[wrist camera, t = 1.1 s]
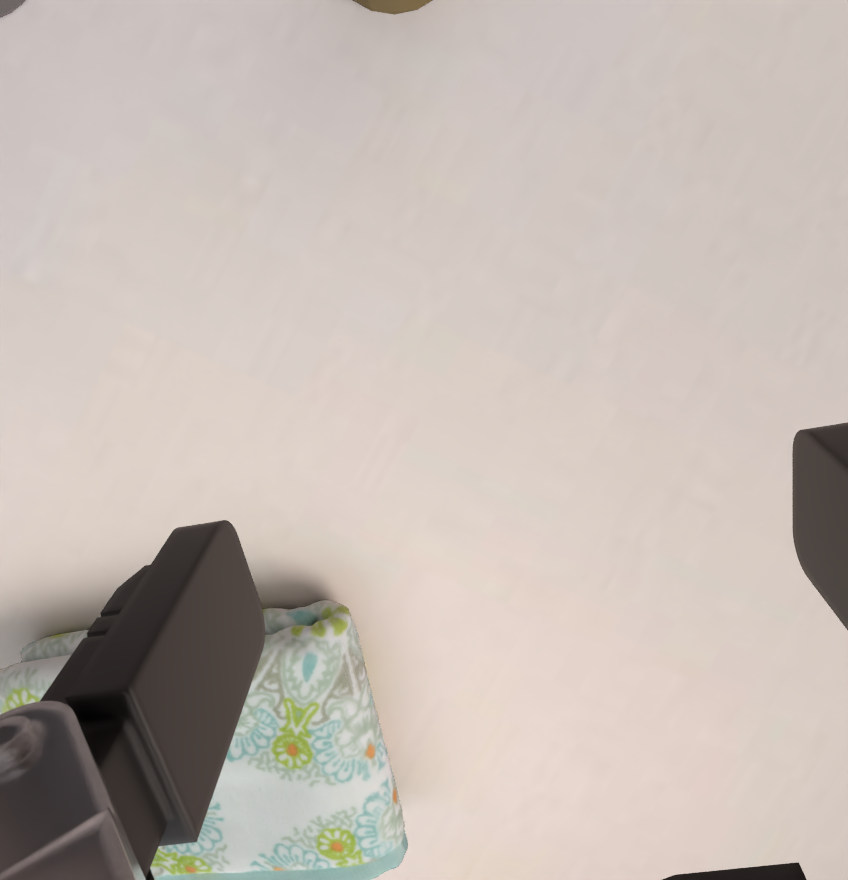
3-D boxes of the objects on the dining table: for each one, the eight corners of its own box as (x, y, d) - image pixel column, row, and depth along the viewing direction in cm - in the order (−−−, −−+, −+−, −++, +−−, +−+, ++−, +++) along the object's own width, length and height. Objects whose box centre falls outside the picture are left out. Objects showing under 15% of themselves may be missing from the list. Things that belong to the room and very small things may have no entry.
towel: (10, 631, 45) (-41, 693, 41) (354, 587, 43) (341, 647, 38) (116, 839, 53) (82, 911, 48) (415, 811, 50) (410, 885, 46)
